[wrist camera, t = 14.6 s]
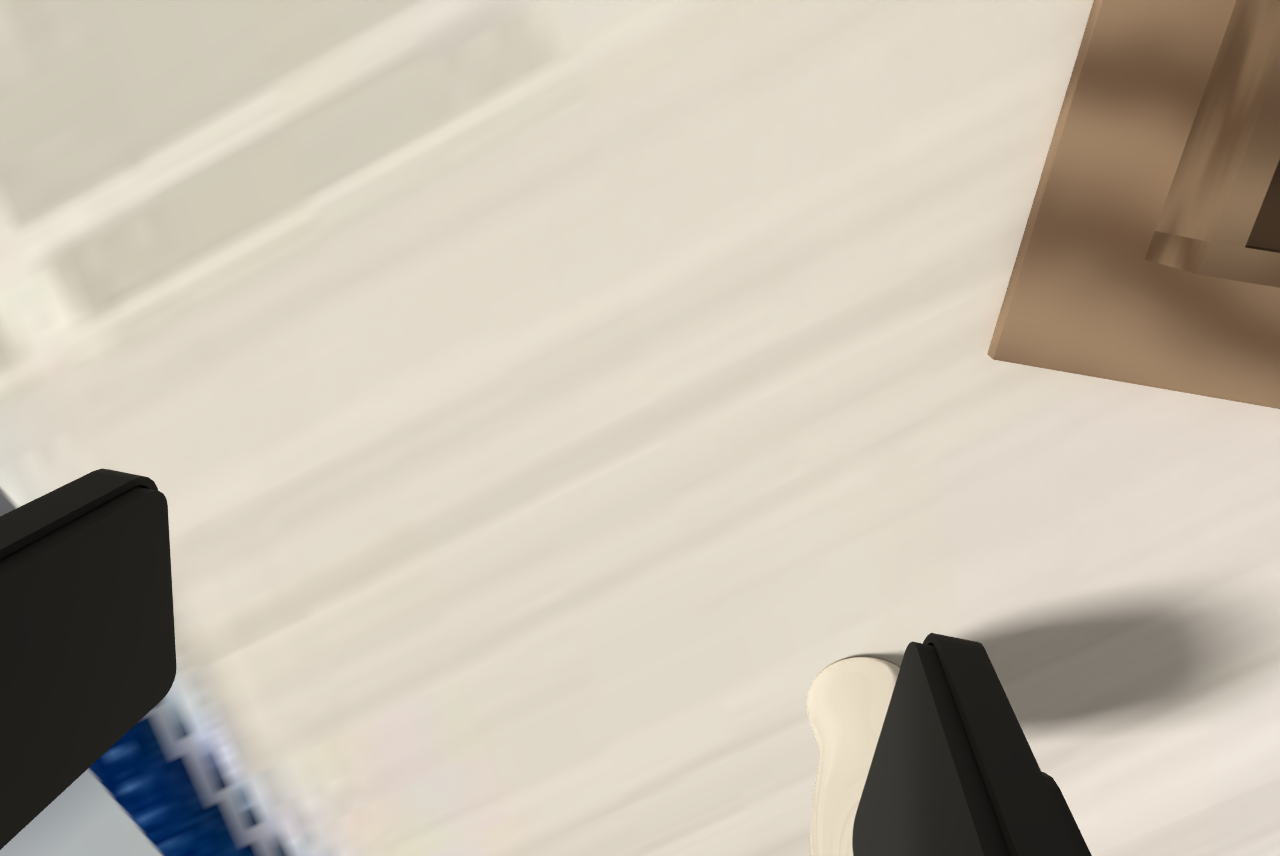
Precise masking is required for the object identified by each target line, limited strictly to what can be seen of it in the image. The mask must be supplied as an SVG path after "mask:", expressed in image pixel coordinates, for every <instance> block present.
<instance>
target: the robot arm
mask: <svg viewBox="0 0 1280 856" xmlns="http://www.w3.org/2000/svg"><path fill="white" fill-rule="evenodd" d="M175 675H176V651H175V633H174V615H173V597H172V578H171V560H170V542H169V524H168V505H167V500H166V498H165V496H164V494H163V493H161V492H160V491H158V488H157V486H156V485H155V483H154V481H153V480H151V479H150V478H148V477H144V476H139V475H134V474H129V473H124V472H119V471H114V470H108V469H99V470H96V471H93V472H91V473H89V474H87V475H85V476H83V477H81V478H79V479H77V480H74V481H72V482H70V483H68V484H66V485H64V486H62V487H60V488H58V489H56V490H54V491H52V492H50V493H48V494H46V495H44V496H42V497H40V498H38V499H35V500H33V501H31V502H29V503H27V504H25V505H23V506H21V507H19V508H17V509H15V510H13V511H11V512H9V513H7V514H5V515H3V516H1V517H0V850H1V849H2V848H3V847H4V846H5V845H6V844H7V843H8V842H9V841H10V840H11V839H12V838H14V837H15V836H16V835H17V834H18V833H19V832H20V831H21V830H22V829H23V828H24V827H25V826H26V825H27V824H29V823H30V822H31V821H32V820H33V819H34V818H35V817H36V816H37V815H38V814H39V813H40V812H41V811H43V810H44V808H46V807H47V806H48V805H49V804H50V803H51V802H52V801H53V800H54V799H56V798H57V797H58V796H59V795H60V794H61V793H62V792H63V791H64V790H65V789H66V788H67V787H68V786H69V785H71V784H72V783H73V782H74V781H75V780H76V779H77V778H78V777H79V776H80V775H81V774H82V773H84V772H85V771H86V770H87V769H88V768H89V767H90V766H91V765H92V764H93V763H94V762H95V761H96V760H98V759H99V758H100V757H101V756H102V755H103V754H104V753H105V752H106V751H107V750H108V749H109V748H110V747H112V746H113V745H114V744H115V743H116V742H117V741H118V740H119V739H120V738H121V737H122V736H123V735H124V734H126V733H127V732H128V731H129V730H130V729H131V728H132V727H133V726H134V725H135V724H136V723H137V722H139V721H140V720H141V719H142V718H143V717H144V716H145V715H146V714H147V713H148V712H149V711H150V710H151V709H153V708H154V707H155V706H156V705H157V704H158V703H159V702H160V701H161V700H162V699H163V698H164V697H165V696H166V695H167V693H168V691H169V690H170V688H171V686H172V684H173V682H174V679H175ZM852 848H853V856H1092V855H1091V853H1090V851H1089V849H1088V847H1087V845H1086V843H1085V841H1084V839H1083V837H1082V834H1081V832H1080V830H1079V828H1078V826H1077V824H1076V822H1075V820H1074V818H1073V816H1072V813H1071V811H1070V809H1069V807H1068V805H1067V803H1066V801H1065V799H1064V797H1063V795H1062V792H1061V790H1060V788H1059V787H1058V785H1057V784H1056V782H1055V781H1054V779H1053V778H1052V777H1051V776H1049V775H1048V774H1046V773H1044V772H1041V770H1040V768H1039V766H1038V764H1037V762H1036V759H1035V757H1034V755H1033V753H1032V751H1031V748H1030V746H1029V744H1028V742H1027V740H1026V738H1025V735H1024V733H1023V731H1022V729H1021V727H1020V725H1019V722H1018V720H1017V718H1016V716H1015V714H1014V711H1013V709H1012V707H1011V705H1010V703H1009V701H1008V698H1007V696H1006V694H1005V692H1004V690H1003V687H1002V685H1001V683H1000V681H999V679H998V677H997V674H996V672H995V670H994V668H993V666H992V664H991V661H990V659H989V657H988V655H987V653H986V650H985V648H984V647H983V645H982V644H981V643H978V642H974V641H969V640H964V639H959V638H954V637H949V636H944V635H939V634H934V633H930V634H929V635H927V637H926V639H925V640H924V642H923V644H921V643H916V642H911V643H909V645H908V646H907V649H906V651H905V654H904V657H903V660H902V664H901V667H900V670H899V674H898V677H897V680H896V683H895V687H894V690H893V693H892V697H891V700H890V703H889V706H888V710H887V713H886V716H885V720H884V723H883V726H882V730H881V733H880V736H879V739H878V743H877V746H876V749H875V753H874V756H873V759H872V762H871V766H870V769H869V772H868V776H867V779H866V782H865V785H864V789H863V792H862V795H861V799H860V802H859V805H858V808H857V812H856V815H855V819H854V825H853V835H852Z"/></svg>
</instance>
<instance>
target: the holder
mask: <svg viewBox="0 0 1280 856" xmlns="http://www.w3.org/2000/svg"><path fill="white" fill-rule="evenodd" d="M988 355H989V356H990V357H991V358H993V359H994V360H1000V361H1006V362H1011V363H1017V364H1023V365H1029V366H1035V367H1040V368H1046V369H1052V370H1058V371H1063V372H1069V373H1075V374H1081V375H1087V376H1092V377H1098V378H1104V379H1110V380H1116V381H1121V382H1127V383H1133V384H1139V385H1145V386H1150V387H1156V388H1162V389H1168V390H1173V391H1179V392H1185V393H1191V394H1197V395H1202V396H1208V397H1214V398H1220V399H1226V400H1231V401H1237V402H1243V403H1249V404H1254V405H1260V406H1266V407H1272V408H1278V409H1280V0H1094V3H1093V6H1092V9H1091V12H1090V16H1089V19H1088V22H1087V26H1086V29H1085V32H1084V36H1083V39H1082V42H1081V46H1080V49H1079V52H1078V56H1077V59H1076V62H1075V66H1074V69H1073V72H1072V76H1071V79H1070V82H1069V86H1068V89H1067V92H1066V96H1065V99H1064V102H1063V106H1062V109H1061V112H1060V115H1059V119H1058V122H1057V125H1056V129H1055V132H1054V135H1053V139H1052V142H1051V145H1050V149H1049V152H1048V155H1047V159H1046V162H1045V165H1044V169H1043V172H1042V175H1041V179H1040V182H1039V185H1038V189H1037V192H1036V195H1035V199H1034V202H1033V205H1032V208H1031V212H1030V215H1029V218H1028V222H1027V225H1026V228H1025V232H1024V235H1023V238H1022V242H1021V245H1020V248H1019V252H1018V255H1017V258H1016V262H1015V265H1014V268H1013V272H1012V275H1011V278H1010V282H1009V285H1008V288H1007V292H1006V295H1005V298H1004V302H1003V305H1002V308H1001V311H1000V315H999V318H998V321H997V325H996V328H995V331H994V335H993V338H992V341H991V345H990V348H989V351H988Z"/></svg>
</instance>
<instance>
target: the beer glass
mask: <svg viewBox="0 0 1280 856" xmlns="http://www.w3.org/2000/svg"><path fill="white" fill-rule="evenodd" d="M899 670H900V668H899V667H898V666H896V665H894V664H892V663H890V662H888V661H885V660H882V659H878V658H873V657H853V658H847V659H844V660H841V661H838V662H836V663H833V664H832V665H830V666H828V667H827V668H825V669H824V670H823V671H822V672H820V673H819V674H818V675H817V677H816V678H815V679H814V681H813V682H812V684H811V686H810V688H809V691H808V695H807V700H806V708H807V714H808V718H809V722H810V724H811V727H812V730H813V732H814V735H815V738H816V740H817V744H818V752H819V759H818V768H817V775H816V781H815V788H814V795H813V802H812V809H811V821H810V834H809V843H810V856H853V848H852V835H853V825H854V819H855V815H856V812H857V808H858V805H859V802H860V799H861V795H862V792H863V789H864V785H865V782H866V779H867V776H868V772H869V769H870V766H871V762H872V759H873V756H874V753H875V749H876V746H877V743H878V739H879V736H880V733H881V730H882V726H883V723H884V720H885V716H886V713H887V710H888V706H889V703H890V700H891V697H892V693H893V690H894V687H895V683H896V680H897V677H898V674H899Z"/></svg>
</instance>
